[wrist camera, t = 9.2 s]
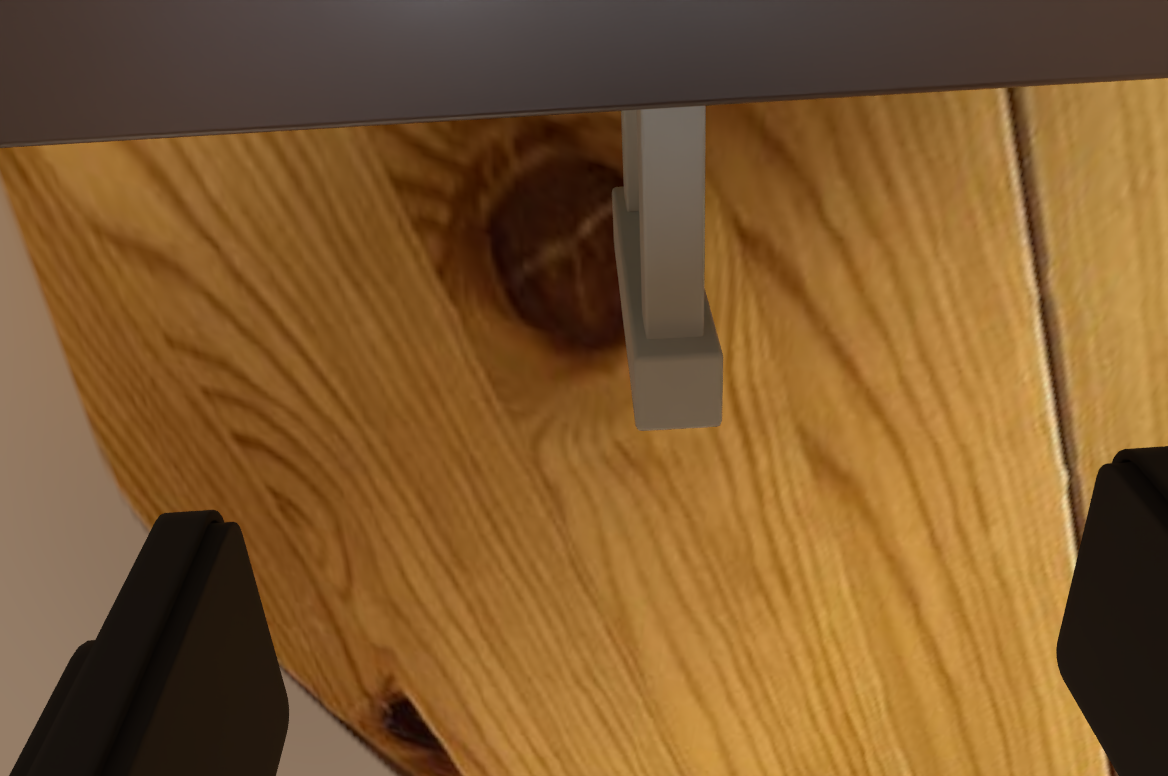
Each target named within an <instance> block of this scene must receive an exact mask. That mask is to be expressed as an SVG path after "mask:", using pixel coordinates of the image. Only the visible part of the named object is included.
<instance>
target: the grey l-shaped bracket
mask: <svg viewBox="0 0 1168 776" xmlns="http://www.w3.org/2000/svg"><path fill="white" fill-rule="evenodd" d="M621 122H622V150H623V178H624V187H616V188H613V191H612V204H613V228H614V247H615V255H616V263H617V272H618V280H619V289H620V297H621V306H622V314H623V323H624V331H625V340H626V348H627V357H628V365H629V374H630V382H631V390H632V399H633V407H634V416H635V424H636V427H637V429H638V430H640V431H649V430H666V429H684V428H701V427H717V426H719V425H720V424H721V421H722V392H723V353H722V350H721V346H720V343H719V339H718V335H717V332H716V328H715V324H714V321H713V317H712V313H711V310H710V306H709V302H708V299H707V295H706V292H705V288H704V267H705V130H706V106H693V107H676V108H660V109H643V110H626V111H621Z"/></svg>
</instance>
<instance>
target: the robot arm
mask: <svg viewBox="0 0 1168 776" xmlns="http://www.w3.org/2000/svg"><path fill="white" fill-rule="evenodd" d="M1056 651H1057V662H1058V667H1059V670H1060V673H1061V676H1062V678H1063V680H1064V682H1065V683H1066V685H1067V687H1068V689H1069V690H1070V692H1071V694H1072V696H1073V697H1074V699H1075V701H1076V702H1077V704H1078V706H1079V708H1080V709H1081V711H1082V713H1083V715H1084V716H1085V718H1086V720H1087V721H1088V723H1089V725H1090V727H1091V728H1092V730H1093V732H1094V734H1095V735H1096V737H1097V739H1098V740H1099V742H1100V744H1101V746H1102V747H1103V749H1104V751H1105V753H1106V754H1107V756H1108V758H1109V760H1110V761H1111V763H1112V765H1113V766H1114V768H1115V770H1116V772H1117V773H1118V775H1119V776H1168V446H1165V447H1150V448H1135V449H1124V450H1121V451H1119V452H1118V453H1117V454H1116V456H1115V457H1114V459H1113V462H1112V463H1110V464H1105V465H1103V466H1102V467H1101V468H1100V469H1099V472H1098V474H1097V478H1096V482H1095V486H1094V490H1093V494H1092V499H1091V503H1090V507H1089V511H1088V515H1087V520H1086V524H1085V528H1084V532H1083V536H1082V541H1081V545H1080V549H1079V553H1078V557H1077V562H1076V566H1075V570H1074V574H1073V579H1072V583H1071V587H1070V591H1069V595H1068V600H1067V604H1066V608H1065V612H1064V616H1063V621H1062V625H1061V629H1060V633H1059V637H1058V642H1057V649H1056ZM288 722H289V705H288V697H287V693H286V689H285V686H284V682H283V679H282V675H281V671H280V668H279V664H278V661H277V657H276V653H275V650H274V646H273V643H272V639H271V635H270V632H269V628H268V624H267V621H266V617H265V614H264V610H263V606H262V603H261V599H260V596H259V592H258V588H257V585H256V581H255V578H254V574H253V570H252V567H251V563H250V560H249V556H248V552H247V549H246V545H245V542H244V538H243V534H242V531H241V529H240V526H239V525H238V524H237V523H236V522H225V523H224V520H223V518H222V516H221V514H220V513H219V512H218V511H216V510H204V511H189V512H174V513H164V514H162V515H160V516H159V517H158V519H157V520H156V521H155V523H154V525H153V527H152V529H151V531H150V533H149V535H148V537H147V539H146V541H145V543H144V545H143V547H142V549H141V551H140V553H139V555H138V557H137V559H136V561H135V563H134V565H133V567H132V569H131V571H130V573H129V575H128V577H127V579H126V581H125V583H124V585H123V586H122V588H121V590H120V592H119V594H118V596H117V598H116V600H115V602H114V604H113V607H112V608H111V610H110V612H109V614H108V616H107V618H106V620H105V622H104V624H103V626H102V629H101V630H100V632H99V634H98V636H97V638H96V640H91V641H87V642H85V643H84V644H82V645H81V646H79V647H78V649H77V650H76V652H75V653H74V655H73V656H72V657H71V659H70V661H69V663H68V665H67V667H66V668H65V670H64V672H63V674H62V676H61V678H60V680H59V682H58V684H57V686H56V687H55V689H54V691H53V693H52V695H51V697H50V699H49V701H48V703H47V705H46V707H45V708H44V710H43V712H42V714H41V716H40V718H39V720H38V722H37V724H36V726H35V728H34V729H33V731H32V733H31V735H30V737H29V739H28V741H27V743H26V745H25V747H24V748H23V750H22V752H21V754H20V756H19V758H18V760H17V762H16V764H15V766H14V768H13V769H12V772H11V773H10V775H9V776H276V773H277V769H278V765H279V761H280V757H281V754H282V750H283V746H284V742H285V738H286V734H287V730H288Z"/></svg>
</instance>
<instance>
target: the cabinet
mask: <svg viewBox="0 0 1168 776" xmlns="http://www.w3.org/2000/svg"><path fill="white" fill-rule="evenodd" d="M1161 78H1168V0H0V148H7V147H24V146H41V145H57V144H74V143H91V142H108V141H124V140H141V139H158V138H175V137H191V136H208V135H225V134H241V133H258V132H275V131H292V130H308V129H325V128H342V127H359V126H375V125H392V124H409V123H425V122H442V121H459V120H476V119H492V118H509V117H526V116H542V115H559V114H576V113H593V112H609V111H626V110H643V109H660V108H676V107H693V106H710V105H726V104H743V103H760V102H777V101H793V100H810V99H827V98H844V97H860V96H877V95H894V94H910V93H927V92H944V91H961V90H977V89H994V88H1011V87H1027V86H1044V85H1061V84H1078V83H1094V82H1111V81H1128V80H1145V79H1161Z"/></svg>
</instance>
